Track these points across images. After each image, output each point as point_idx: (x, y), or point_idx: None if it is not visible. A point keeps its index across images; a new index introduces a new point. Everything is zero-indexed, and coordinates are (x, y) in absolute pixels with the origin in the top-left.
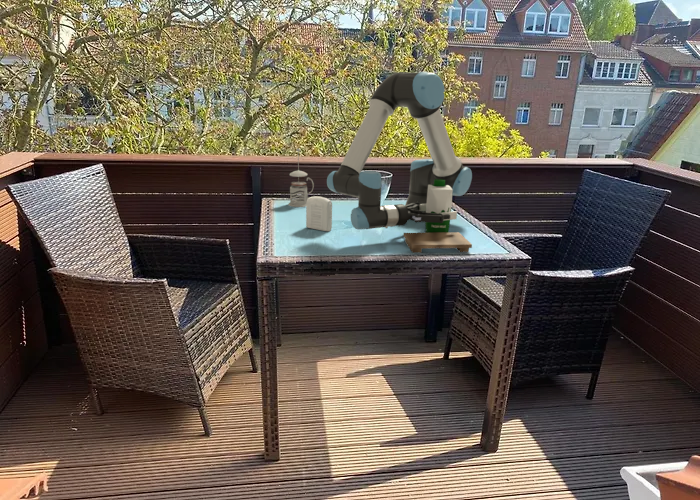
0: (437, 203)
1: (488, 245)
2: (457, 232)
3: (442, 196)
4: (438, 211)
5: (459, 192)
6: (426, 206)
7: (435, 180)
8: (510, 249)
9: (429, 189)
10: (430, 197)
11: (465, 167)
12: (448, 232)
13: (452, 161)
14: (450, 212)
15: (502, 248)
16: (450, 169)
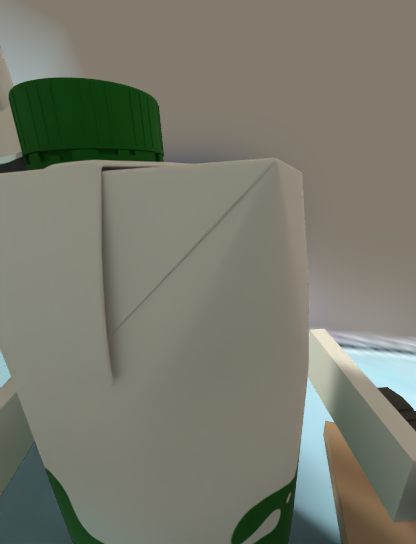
0: (303, 376)
1: (376, 375)
2: (329, 429)
3: (305, 263)
4: (300, 439)
5: None
6: (81, 491)
7: (63, 78)
8: (404, 343)
9: (92, 219)
10: (206, 367)
11: None
12: (340, 488)
13: (4, 68)
14: (357, 366)
15: (402, 355)
16: (9, 123)
